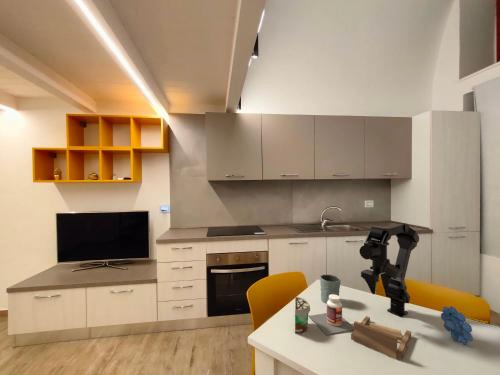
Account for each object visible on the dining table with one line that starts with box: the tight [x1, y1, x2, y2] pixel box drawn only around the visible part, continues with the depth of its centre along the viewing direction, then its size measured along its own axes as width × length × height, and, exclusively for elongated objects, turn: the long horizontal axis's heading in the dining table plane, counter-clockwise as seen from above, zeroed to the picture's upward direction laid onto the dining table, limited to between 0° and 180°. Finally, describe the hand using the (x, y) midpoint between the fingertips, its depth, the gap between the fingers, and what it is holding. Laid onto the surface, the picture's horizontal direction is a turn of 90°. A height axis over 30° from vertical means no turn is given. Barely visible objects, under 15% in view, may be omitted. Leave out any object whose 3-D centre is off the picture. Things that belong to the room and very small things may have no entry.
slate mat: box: [308, 312, 354, 336], centre depth 102 cm, size 14×14×1 cm
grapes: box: [440, 305, 474, 345], centre depth 91 cm, size 12×7×12 cm, turn 9°
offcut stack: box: [367, 322, 403, 345], centre depth 94 cm, size 6×12×2 cm, turn 57°
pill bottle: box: [326, 294, 343, 326], centre depth 102 cm, size 6×6×11 cm
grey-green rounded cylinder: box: [319, 273, 342, 305], centre depth 122 cm, size 10×10×12 cm
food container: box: [294, 296, 311, 335], centre depth 99 cm, size 12×6×10 cm, turn 168°
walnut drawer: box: [350, 315, 412, 361], centre depth 92 cm, size 18×16×7 cm
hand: (379, 291), depth 103 cm, fingers open, 9 cm apart
